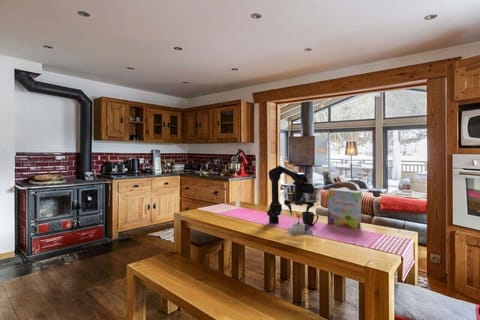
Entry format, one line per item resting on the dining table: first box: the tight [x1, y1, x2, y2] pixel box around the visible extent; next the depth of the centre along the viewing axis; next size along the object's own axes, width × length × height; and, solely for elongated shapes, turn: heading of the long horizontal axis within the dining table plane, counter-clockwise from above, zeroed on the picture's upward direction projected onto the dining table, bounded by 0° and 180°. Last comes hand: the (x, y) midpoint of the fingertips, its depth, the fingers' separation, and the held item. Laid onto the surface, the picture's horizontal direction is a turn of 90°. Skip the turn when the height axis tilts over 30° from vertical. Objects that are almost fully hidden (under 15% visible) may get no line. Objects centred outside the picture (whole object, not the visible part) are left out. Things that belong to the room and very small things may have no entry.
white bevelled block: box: [291, 221, 309, 233], centre depth 175 cm, size 10×8×5 cm
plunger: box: [295, 212, 302, 224], centre depth 175 cm, size 5×5×8 cm
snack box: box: [327, 187, 363, 230], centre depth 195 cm, size 22×9×26 cm, turn 50°
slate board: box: [286, 227, 314, 237], centre depth 175 cm, size 16×13×1 cm
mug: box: [301, 210, 320, 227], centre depth 191 cm, size 8×12×10 cm
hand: (298, 215), depth 175 cm, fingers open, 9 cm apart
